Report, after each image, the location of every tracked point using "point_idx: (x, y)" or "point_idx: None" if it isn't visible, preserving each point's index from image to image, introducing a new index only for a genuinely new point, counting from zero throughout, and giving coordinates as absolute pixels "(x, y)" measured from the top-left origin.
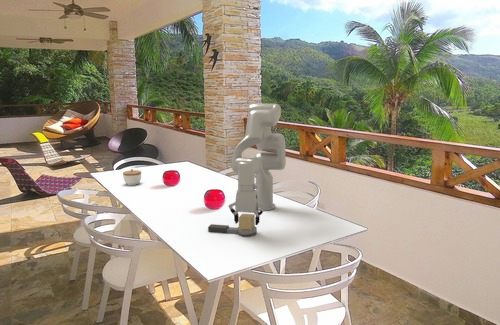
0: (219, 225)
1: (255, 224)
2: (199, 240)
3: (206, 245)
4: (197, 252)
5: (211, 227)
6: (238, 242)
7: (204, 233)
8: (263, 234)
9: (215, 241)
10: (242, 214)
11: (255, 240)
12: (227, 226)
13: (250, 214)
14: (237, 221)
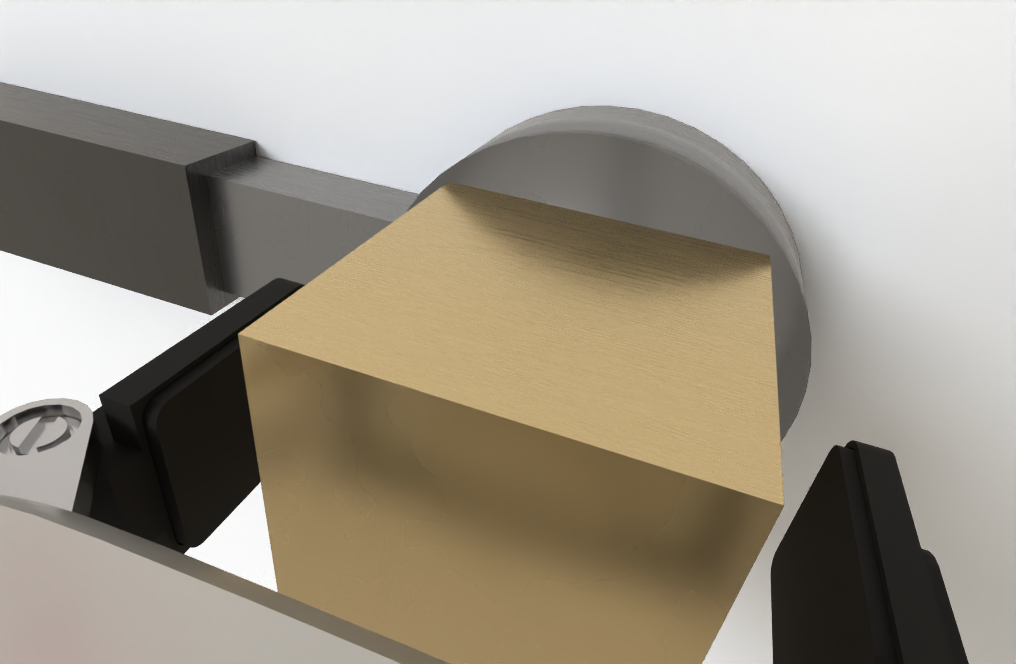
0: (45, 165)
1: (773, 572)
2: None
3: (233, 569)
4: None
5: (3, 248)
6: None
7: (34, 267)
8: (956, 378)
9: (264, 507)
10: (286, 444)
11: (747, 580)
12: (187, 220)
13: (579, 489)
14: None
